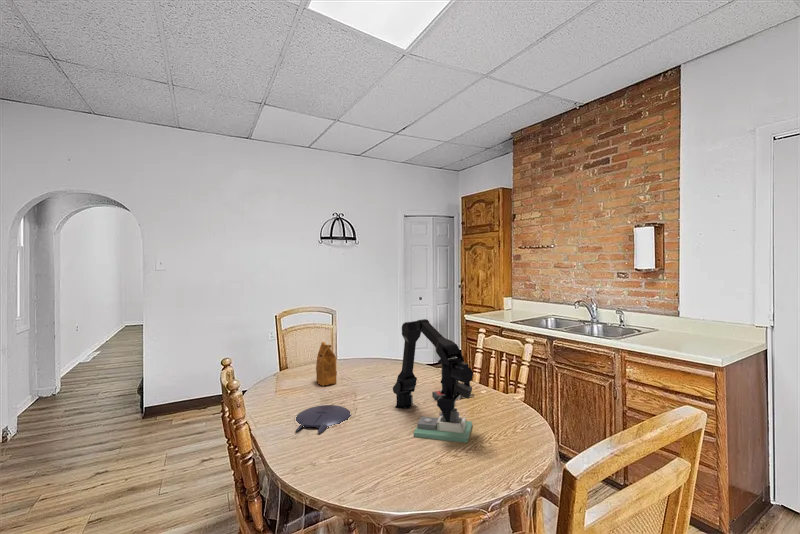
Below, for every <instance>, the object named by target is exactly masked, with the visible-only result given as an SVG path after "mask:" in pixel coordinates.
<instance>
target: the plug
mask: <svg viewBox="0 0 800 534" xmlns="http://www.w3.org/2000/svg"><path fill="white" fill-rule="evenodd" d="M438 413H439V416H440V415H441V416H443V414H442V412H441V411H439V412H438ZM459 417H460V412H459V411H458V408H456V407H454V409H452V410H451V416H450V422H449V423H459ZM443 422H446V420H445V418H444V416H443Z"/></svg>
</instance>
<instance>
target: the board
mask: <svg viewBox="0 0 800 534" xmlns="http://www.w3.org/2000/svg"><path fill="white" fill-rule="evenodd" d="M466 418H467V417H462V416H459V423H449V422H443V416H441V415H439V417H434V416H433V417H431V416H421V417H420V419H419V421H418V422H417V424H416V425H417V426H416V428H415V430H414V432H413V437H414V438H421V439H423V438H424V439H429V440H430V439H431V440H440V441H446V442H447V441H448V442H457V443H465V444H468V443H469V439H470V436H471V432H472V428H473V420H472V421H469V420H466Z"/></svg>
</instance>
